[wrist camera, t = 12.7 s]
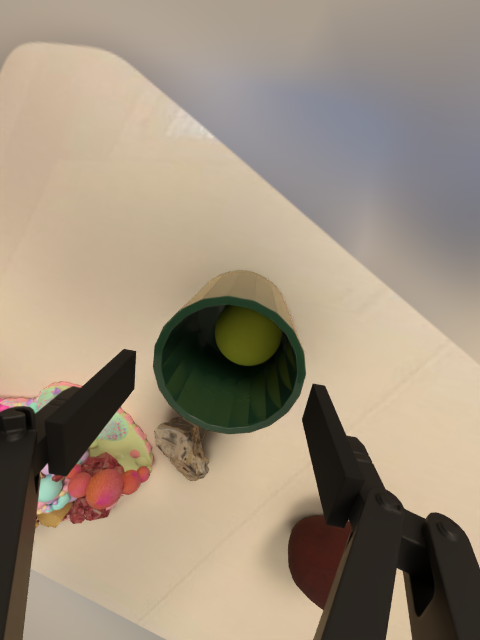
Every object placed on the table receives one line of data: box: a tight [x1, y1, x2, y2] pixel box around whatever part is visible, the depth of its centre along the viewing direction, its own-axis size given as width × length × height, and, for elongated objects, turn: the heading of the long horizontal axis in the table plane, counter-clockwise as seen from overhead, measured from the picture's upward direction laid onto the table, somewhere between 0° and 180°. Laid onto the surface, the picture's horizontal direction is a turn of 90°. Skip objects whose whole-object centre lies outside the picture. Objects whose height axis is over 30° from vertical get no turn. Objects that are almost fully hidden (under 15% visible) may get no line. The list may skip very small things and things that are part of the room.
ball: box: [215, 305, 282, 366], centre depth 28 cm, size 7×7×7 cm
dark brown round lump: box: [288, 515, 352, 610], centre depth 35 cm, size 11×13×10 cm
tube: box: [153, 271, 306, 434], centre depth 25 cm, size 11×11×13 cm
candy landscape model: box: [0, 382, 153, 528], centre depth 35 cm, size 25×24×9 cm
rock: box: [155, 417, 209, 481], centre depth 34 cm, size 9×7×10 cm
